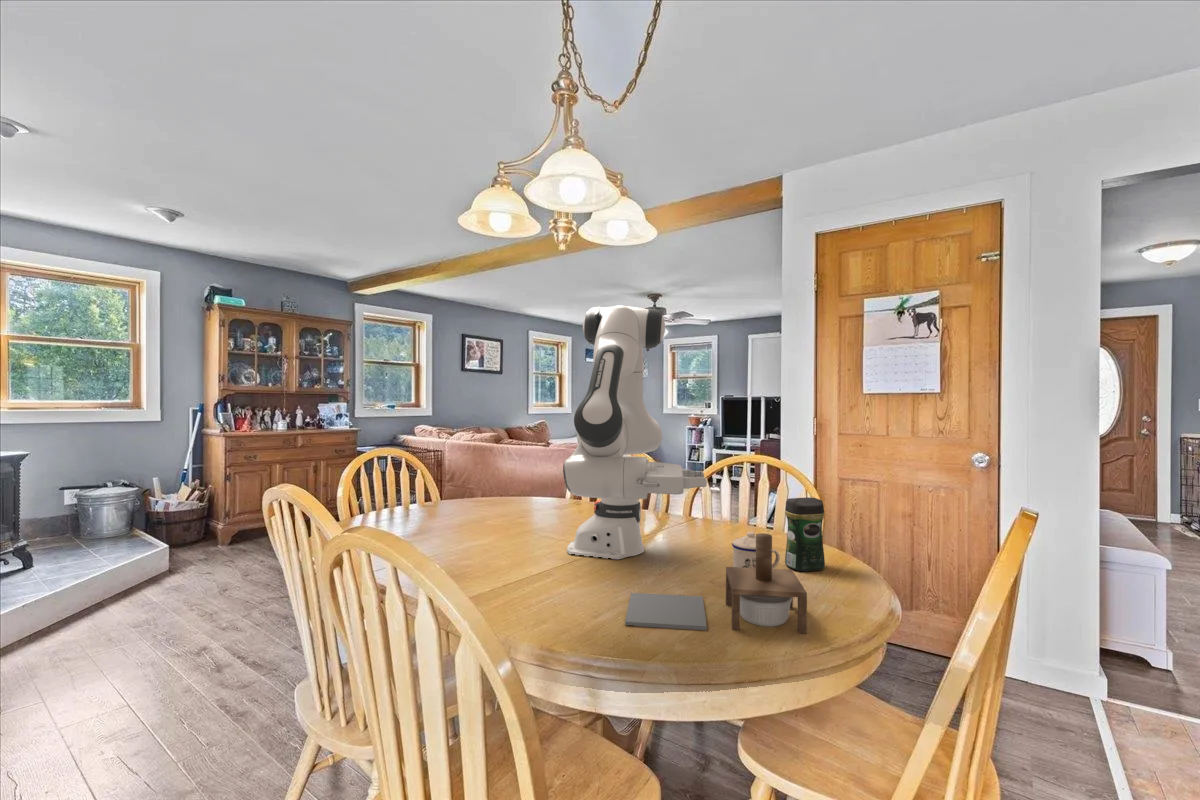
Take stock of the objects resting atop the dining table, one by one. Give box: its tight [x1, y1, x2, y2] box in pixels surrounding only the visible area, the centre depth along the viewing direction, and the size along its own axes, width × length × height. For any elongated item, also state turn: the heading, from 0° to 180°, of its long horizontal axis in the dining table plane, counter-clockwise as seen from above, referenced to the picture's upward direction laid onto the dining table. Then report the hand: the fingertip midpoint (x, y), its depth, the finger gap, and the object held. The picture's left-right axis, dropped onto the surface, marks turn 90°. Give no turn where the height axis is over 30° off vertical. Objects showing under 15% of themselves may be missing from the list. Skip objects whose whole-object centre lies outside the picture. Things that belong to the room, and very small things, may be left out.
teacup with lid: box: [731, 531, 781, 569], centre depth 139 cm, size 12×9×12 cm
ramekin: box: [740, 595, 792, 627], centre depth 115 cm, size 11×11×5 cm
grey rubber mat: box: [624, 592, 708, 631], centre depth 118 cm, size 16×16×1 cm
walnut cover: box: [725, 532, 808, 635], centre depth 115 cm, size 14×14×17 cm
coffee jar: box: [784, 497, 826, 572], centre depth 148 cm, size 10×8×19 cm
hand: (705, 478), depth 116 cm, fingers open, 8 cm apart
